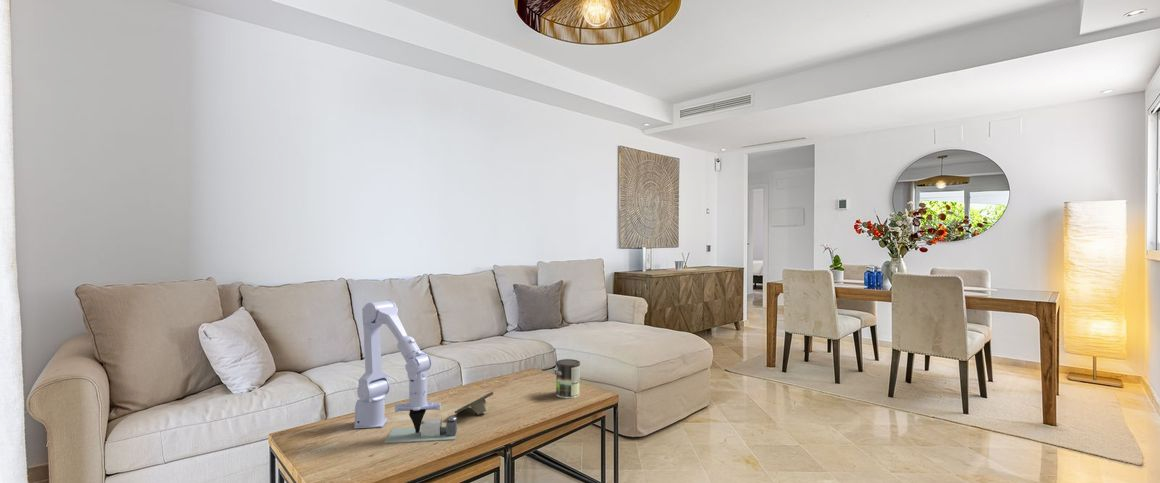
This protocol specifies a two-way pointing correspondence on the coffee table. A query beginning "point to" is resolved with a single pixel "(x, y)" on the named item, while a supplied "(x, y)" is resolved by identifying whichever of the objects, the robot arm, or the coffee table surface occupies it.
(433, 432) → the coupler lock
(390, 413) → the coffee table surface
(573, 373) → the coffee can
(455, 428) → the coupler
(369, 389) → the robot arm
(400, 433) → the mat
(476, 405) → the grey slanted panel
